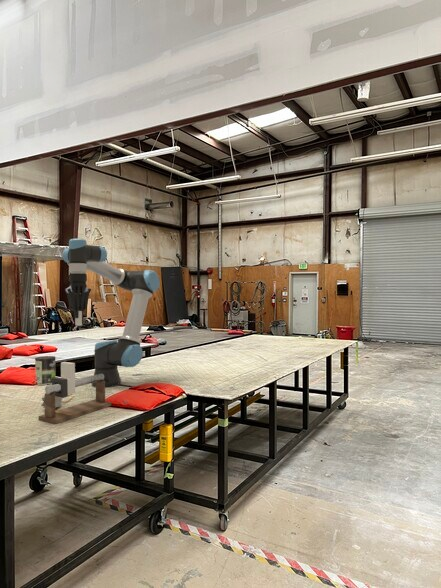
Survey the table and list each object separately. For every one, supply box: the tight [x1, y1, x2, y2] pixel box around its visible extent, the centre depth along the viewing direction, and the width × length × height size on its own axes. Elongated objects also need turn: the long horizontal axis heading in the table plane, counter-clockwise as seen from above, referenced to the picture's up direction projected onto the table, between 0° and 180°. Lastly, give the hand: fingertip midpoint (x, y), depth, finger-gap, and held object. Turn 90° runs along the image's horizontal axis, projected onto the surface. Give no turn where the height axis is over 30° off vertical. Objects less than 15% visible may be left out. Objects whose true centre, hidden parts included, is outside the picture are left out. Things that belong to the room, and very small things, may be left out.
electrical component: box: [41, 394, 76, 409], centre depth 179 cm, size 24×6×5 cm, turn 0°
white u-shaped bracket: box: [58, 361, 76, 396], centre depth 160 cm, size 4×6×12 cm, turn 59°
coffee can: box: [34, 355, 56, 386], centre depth 219 cm, size 10×10×14 cm
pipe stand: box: [38, 380, 112, 425], centre depth 164 cm, size 28×10×10 cm, turn 149°
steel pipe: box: [44, 374, 104, 394], centre depth 164 cm, size 27×3×3 cm, turn 149°
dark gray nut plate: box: [51, 376, 69, 399], centre depth 157 cm, size 2×7×7 cm, turn 59°
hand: (78, 325), depth 181 cm, fingers closed
